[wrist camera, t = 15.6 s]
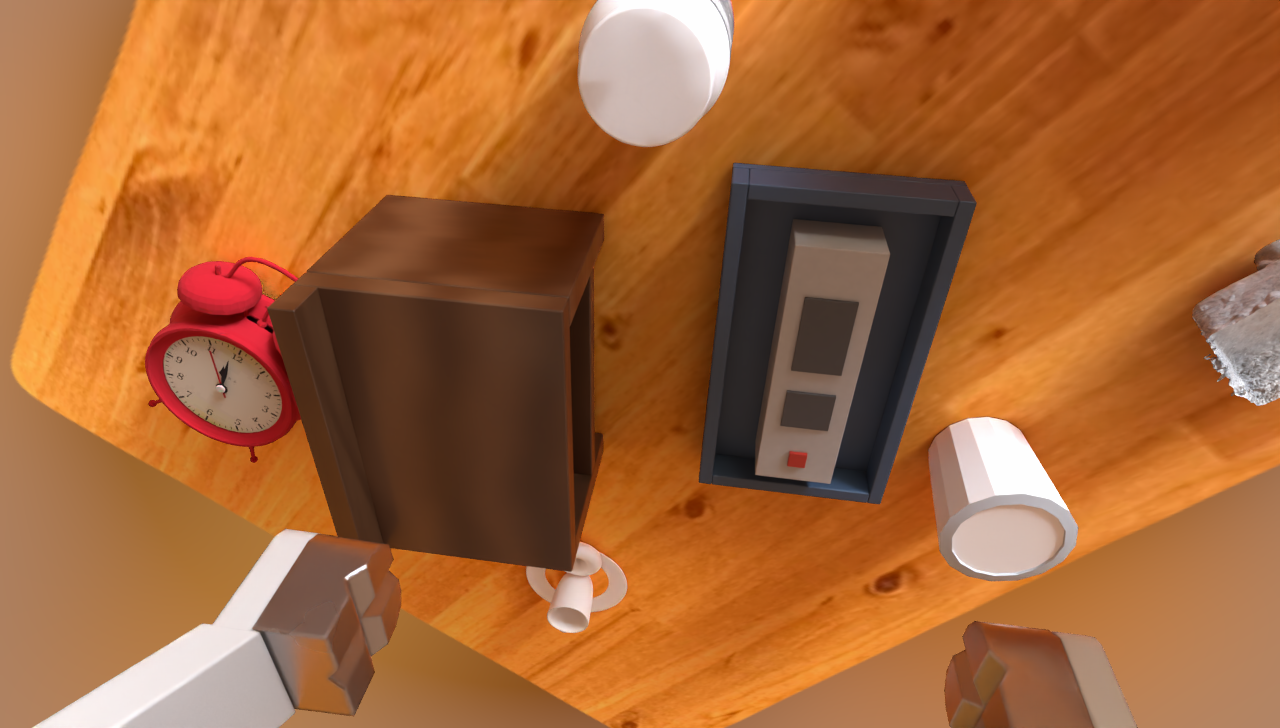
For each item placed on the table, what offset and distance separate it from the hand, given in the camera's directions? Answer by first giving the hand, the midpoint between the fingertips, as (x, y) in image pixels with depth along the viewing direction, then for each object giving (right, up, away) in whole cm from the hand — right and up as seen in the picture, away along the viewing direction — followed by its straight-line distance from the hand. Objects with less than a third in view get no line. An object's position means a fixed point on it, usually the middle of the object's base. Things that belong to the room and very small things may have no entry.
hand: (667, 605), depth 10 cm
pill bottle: (+1, +19, +23) cm, 30 cm away
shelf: (-9, +5, +34) cm, 35 cm away
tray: (+9, +5, +31) cm, 33 cm away
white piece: (-2, -12, +46) cm, 48 cm away
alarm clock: (-24, +5, +37) cm, 44 cm away
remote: (+9, +4, +31) cm, 32 cm away
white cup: (+20, -2, +34) cm, 40 cm away
